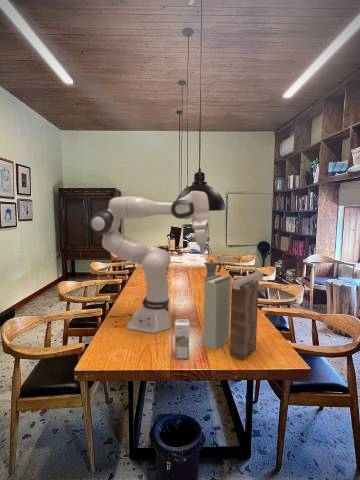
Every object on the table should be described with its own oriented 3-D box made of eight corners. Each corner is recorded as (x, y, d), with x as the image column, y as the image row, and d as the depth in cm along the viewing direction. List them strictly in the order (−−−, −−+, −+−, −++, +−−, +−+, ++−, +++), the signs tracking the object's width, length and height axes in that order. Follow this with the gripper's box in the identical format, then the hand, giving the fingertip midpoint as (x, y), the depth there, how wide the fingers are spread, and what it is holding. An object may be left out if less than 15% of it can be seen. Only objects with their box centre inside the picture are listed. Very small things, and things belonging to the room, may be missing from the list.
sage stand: (217, 336, 131) (219, 274, 128) (229, 340, 127) (230, 276, 124) (203, 345, 122) (204, 279, 119) (215, 350, 118) (216, 281, 115)
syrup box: (188, 351, 116) (188, 318, 115) (189, 359, 110) (189, 324, 109) (174, 352, 116) (174, 318, 115) (174, 359, 110) (175, 324, 109)
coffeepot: (202, 280, 235) (202, 259, 233) (204, 278, 244) (205, 258, 242) (219, 282, 230) (220, 261, 228) (222, 280, 239) (222, 259, 237)
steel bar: (256, 278, 125) (256, 271, 124) (262, 279, 123) (263, 272, 123) (232, 288, 108) (232, 280, 108) (239, 289, 106) (239, 282, 106)
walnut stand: (243, 345, 123) (245, 278, 120) (255, 349, 119) (258, 281, 116) (229, 355, 113) (231, 284, 110) (243, 360, 110) (245, 287, 106)
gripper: (197, 223, 144) (199, 250, 146) (192, 225, 124) (194, 256, 125) (209, 222, 143) (211, 249, 144) (206, 224, 123) (208, 255, 124)
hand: (203, 252), depth 135 cm, fingers open, 8 cm apart
